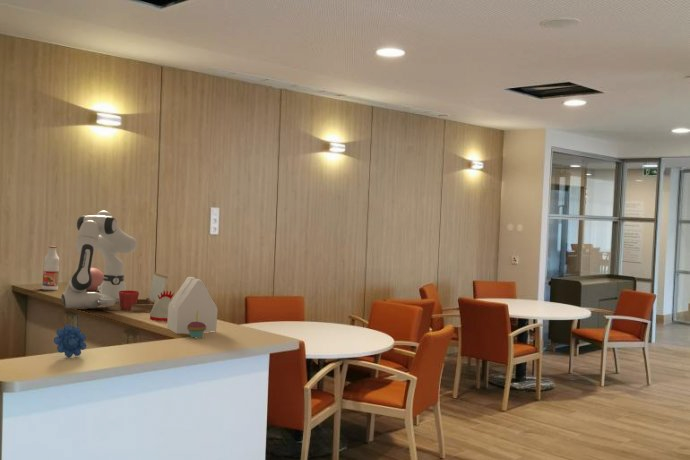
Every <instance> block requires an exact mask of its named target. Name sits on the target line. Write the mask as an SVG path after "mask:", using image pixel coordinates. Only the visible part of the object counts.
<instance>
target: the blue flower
mask: <svg viewBox="0 0 690 460" xmlns="http://www.w3.org/2000/svg"><path fill="white" fill-rule="evenodd" d="M56 335H57V336H55V337H54V338H53V343H54V344H55V345H57V347H56V350H57V352H58V353H59V354H60V353H61V354H63V353H64V356H66V357H67V358H70V357H73V355H74V356H77V357H78V356H81V354H82V351H84V350H86V348H87V344H86V342H85V341H86V340H87V336H86V334H85V333H81V329H80V327H79V326H74V327H72V326H71V325H70V324H65V325H64V327H63V328H58V329H57V330H56Z"/></svg>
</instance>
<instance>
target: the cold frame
mask: <svg viewBox="0 0 690 460" xmlns="http://www.w3.org/2000/svg"><path fill="white" fill-rule="evenodd" d="M155 303H156V301H154V300H152V299H149V298H148V297H146V298H138V300H137V304H131V310H130V313H151V311H152V308H153V306H154V304H155Z"/></svg>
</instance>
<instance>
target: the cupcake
mask: <svg viewBox="0 0 690 460" xmlns="http://www.w3.org/2000/svg"><path fill="white" fill-rule="evenodd" d="M187 329H188V330H189V332H190V333H189V336H190V338H191V337H201V338H202V336H203V334H204V333H203V332H204V330H206V325H205V324H204V323H201V322H198V312H196V322H191V323H189V325H188V327H187Z"/></svg>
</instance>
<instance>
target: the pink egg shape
mask: <svg viewBox="0 0 690 460" xmlns="http://www.w3.org/2000/svg"><path fill="white" fill-rule="evenodd" d="M90 273H91V277H92V283H91V285H90V286H89V287H88V288H87V289H86V291H87V292H96V291H99V290H98V286H101V284H102V282H103V276H104V274H105V273H104V272H102V271H101V270H100V269H98V268H97V267H91V269H90Z"/></svg>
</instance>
